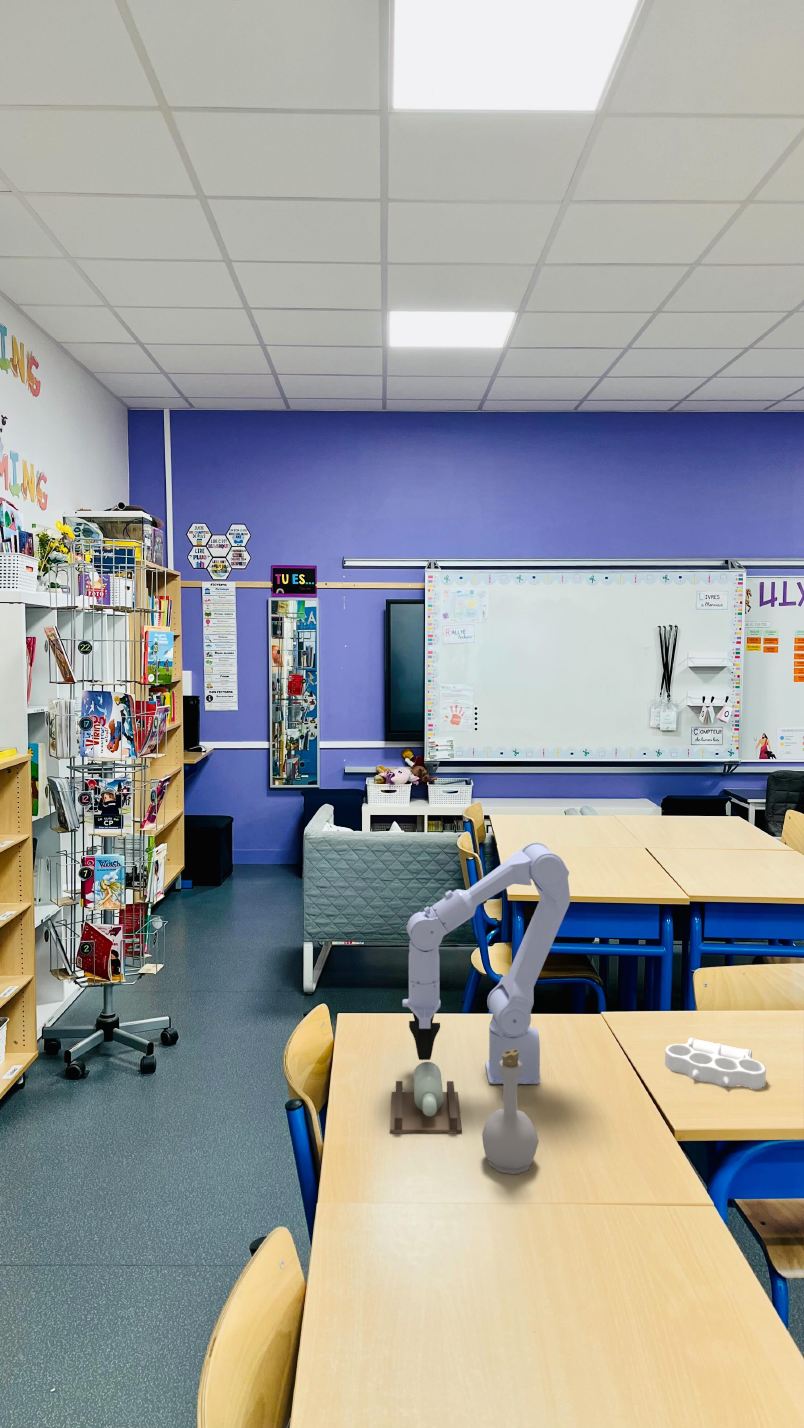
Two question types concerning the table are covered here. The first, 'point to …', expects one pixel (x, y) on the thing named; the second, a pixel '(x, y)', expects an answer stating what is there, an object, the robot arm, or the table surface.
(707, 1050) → the knuckle duster
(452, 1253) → the table surface
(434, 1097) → the sage bottle
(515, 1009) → the robot arm
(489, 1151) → the potion bottle
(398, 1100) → the walnut cradle
